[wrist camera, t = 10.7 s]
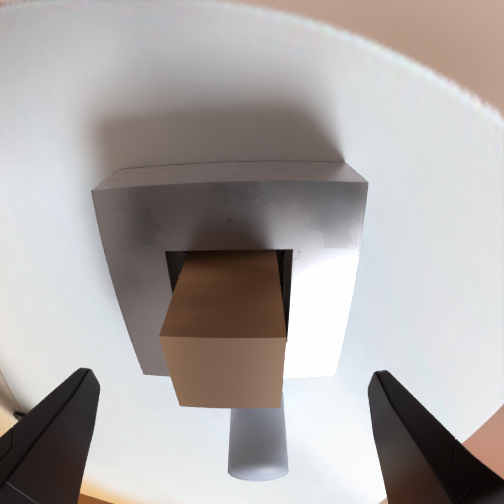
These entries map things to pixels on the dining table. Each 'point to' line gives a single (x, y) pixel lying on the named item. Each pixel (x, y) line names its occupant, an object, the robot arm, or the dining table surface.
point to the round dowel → (258, 444)
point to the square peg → (226, 330)
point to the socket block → (237, 244)
